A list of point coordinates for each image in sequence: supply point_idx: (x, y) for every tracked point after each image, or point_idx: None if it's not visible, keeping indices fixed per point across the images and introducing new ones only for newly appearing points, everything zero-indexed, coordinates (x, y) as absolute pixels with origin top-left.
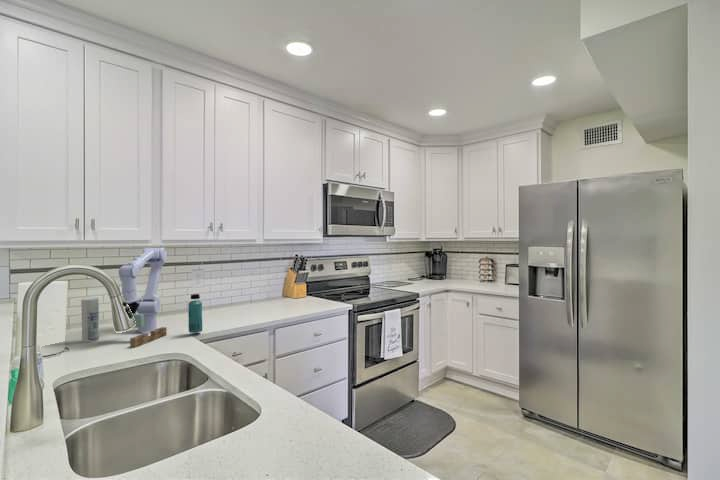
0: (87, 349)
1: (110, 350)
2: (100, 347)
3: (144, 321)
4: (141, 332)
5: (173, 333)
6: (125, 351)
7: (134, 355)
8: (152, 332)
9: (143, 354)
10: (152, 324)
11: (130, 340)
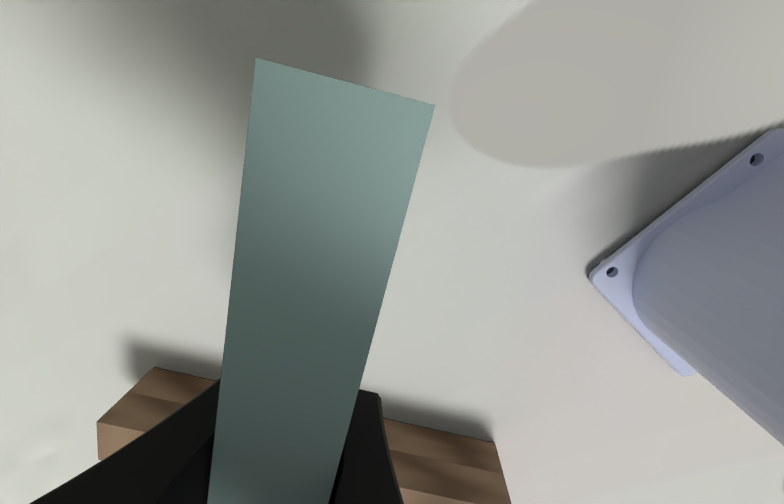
0: (42, 7)
1: (62, 260)
2: (122, 109)
3: (726, 338)
4: (622, 249)
5: (533, 497)
6: (64, 378)
7: (7, 463)
8: None
9: (36, 498)
10: (705, 378)
11: (112, 408)
